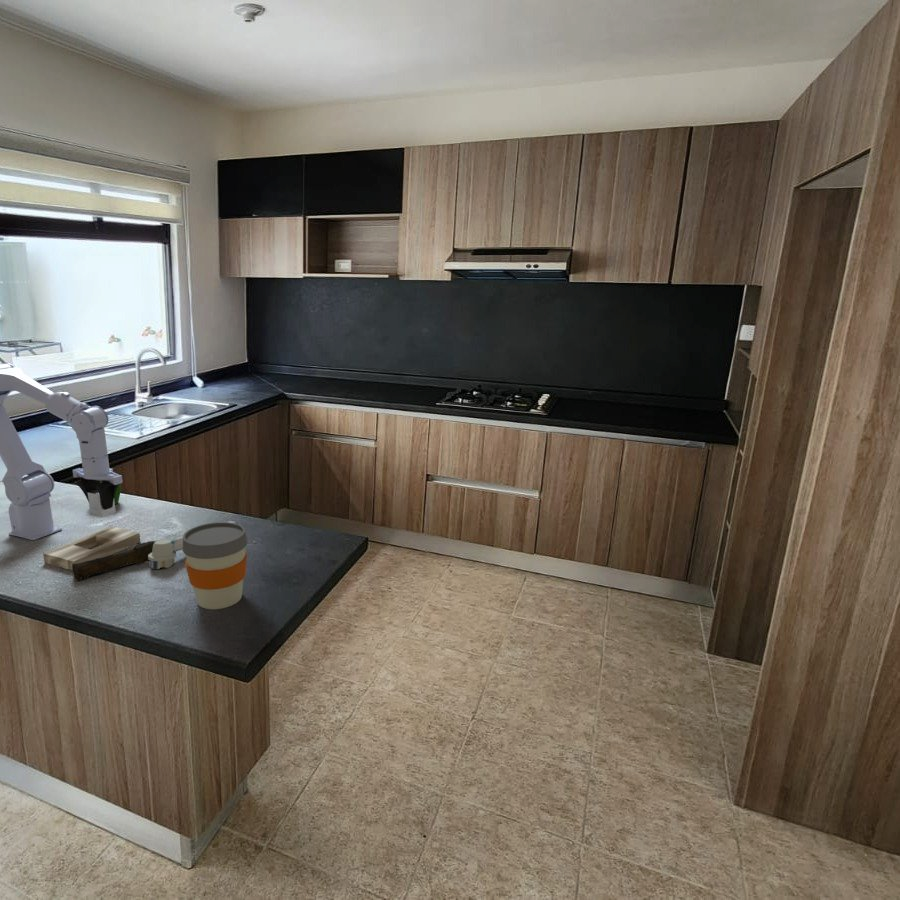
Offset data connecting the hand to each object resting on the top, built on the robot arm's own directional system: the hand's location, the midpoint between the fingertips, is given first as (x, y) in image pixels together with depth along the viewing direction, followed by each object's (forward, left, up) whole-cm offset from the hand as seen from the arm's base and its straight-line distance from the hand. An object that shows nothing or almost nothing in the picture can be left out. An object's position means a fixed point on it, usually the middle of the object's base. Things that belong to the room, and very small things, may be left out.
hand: (101, 506), depth 152 cm
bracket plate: (+5, -7, -8) cm, 12 cm away
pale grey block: (0, 0, -2) cm, 2 cm away
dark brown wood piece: (+17, -10, -9) cm, 22 cm away
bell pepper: (-20, +17, -9) cm, 27 cm away
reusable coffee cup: (+48, -12, -9) cm, 50 cm away
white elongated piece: (+26, +4, -9) cm, 28 cm away
